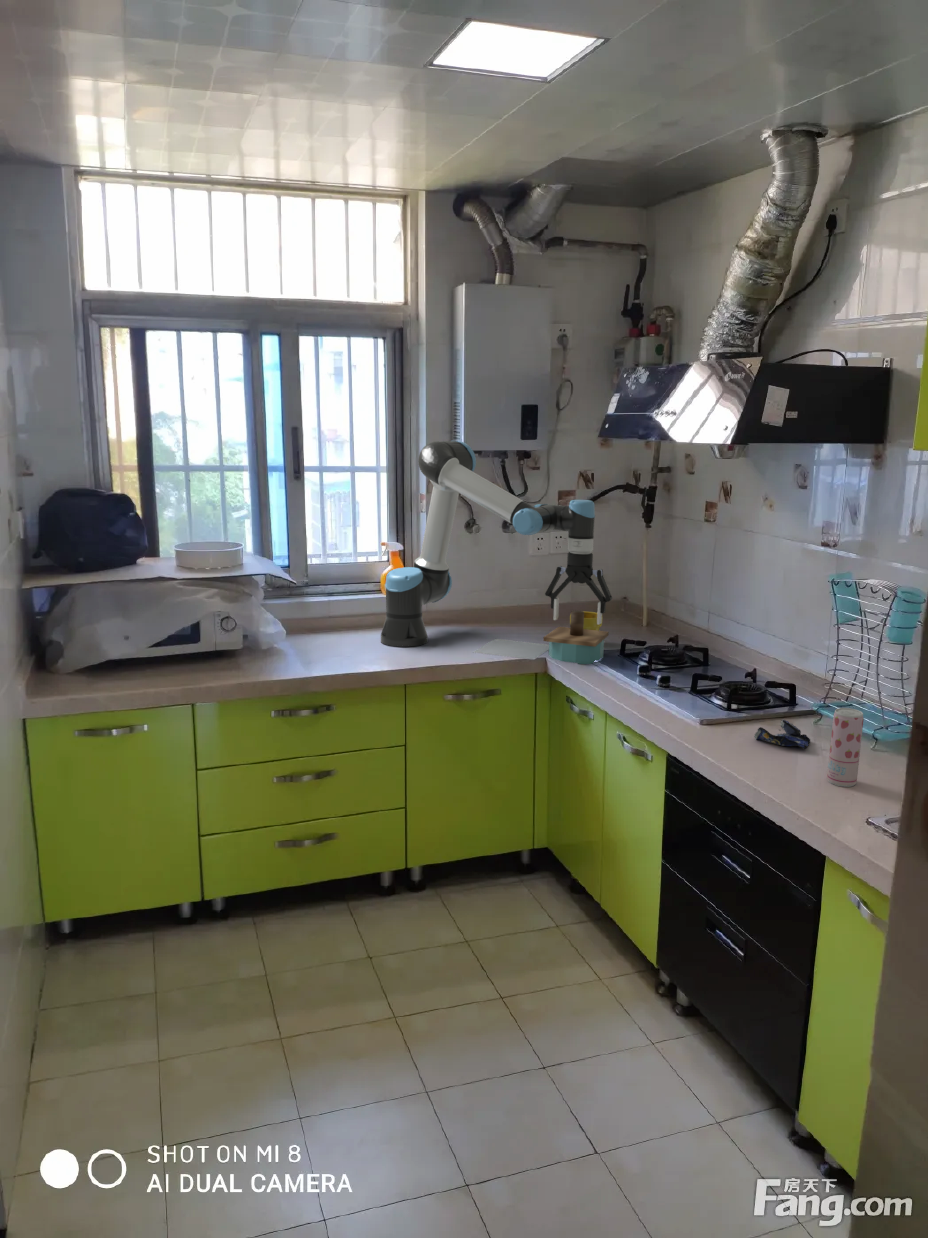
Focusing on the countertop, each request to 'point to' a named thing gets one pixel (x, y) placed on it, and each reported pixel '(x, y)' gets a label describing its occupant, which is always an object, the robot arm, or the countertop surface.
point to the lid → (576, 633)
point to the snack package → (784, 736)
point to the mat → (513, 649)
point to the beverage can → (845, 747)
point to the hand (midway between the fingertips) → (577, 621)
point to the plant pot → (590, 621)
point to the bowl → (576, 652)
